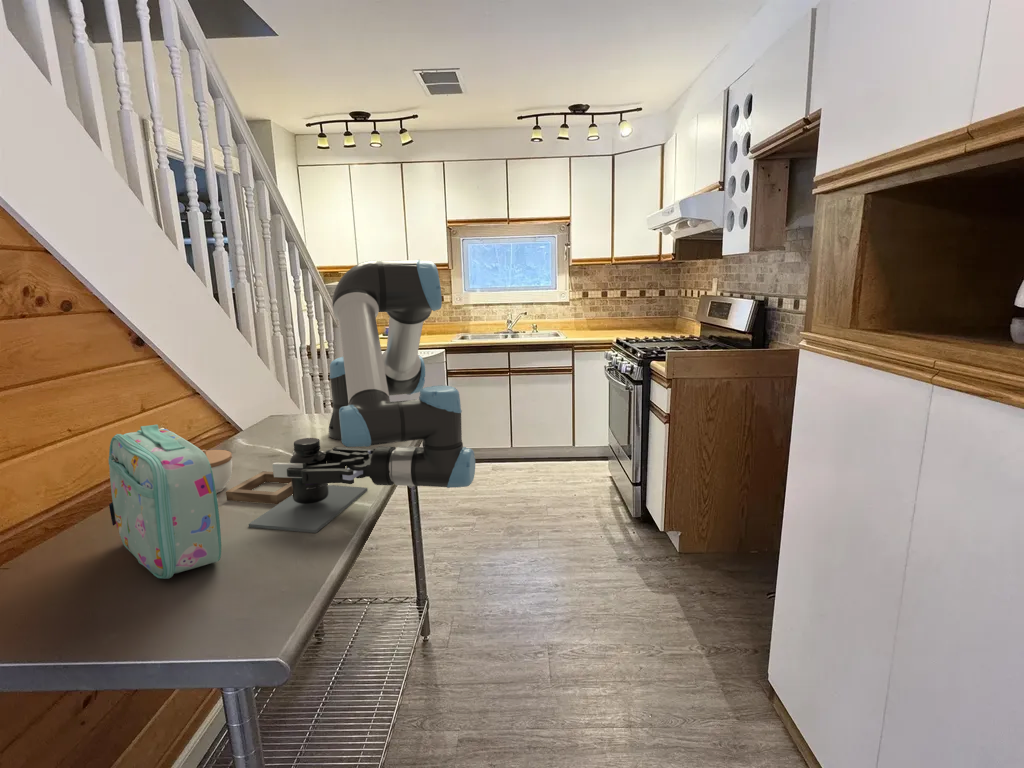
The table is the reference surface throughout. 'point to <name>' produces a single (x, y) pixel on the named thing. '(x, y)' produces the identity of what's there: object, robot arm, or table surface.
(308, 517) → the slate mat
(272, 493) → the walnut collar
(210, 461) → the lidded jar
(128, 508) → the lunch box
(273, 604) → the table surface
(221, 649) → the table surface
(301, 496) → the supplement bottle
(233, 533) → the table surface
